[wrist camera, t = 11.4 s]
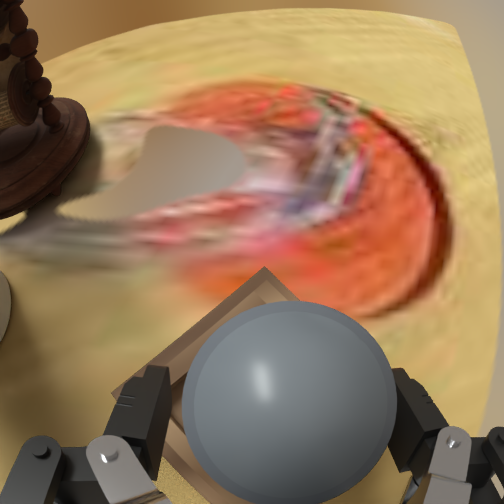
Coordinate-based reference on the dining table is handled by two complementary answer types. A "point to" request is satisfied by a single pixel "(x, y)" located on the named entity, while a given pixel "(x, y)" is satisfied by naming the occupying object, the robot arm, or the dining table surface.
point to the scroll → (32, 120)
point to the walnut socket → (179, 361)
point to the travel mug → (4, 304)
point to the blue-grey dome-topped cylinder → (289, 404)
